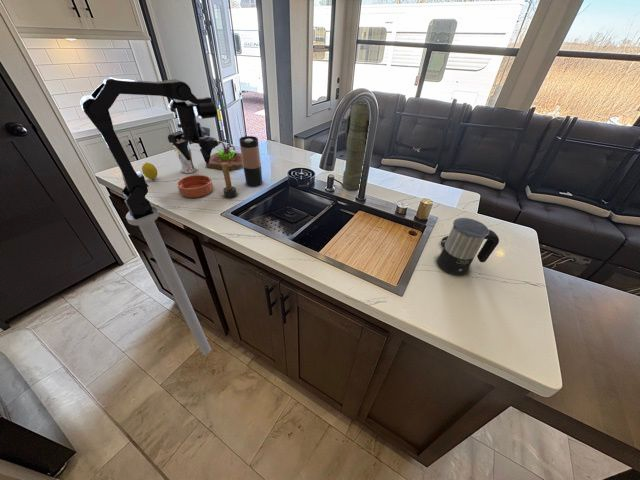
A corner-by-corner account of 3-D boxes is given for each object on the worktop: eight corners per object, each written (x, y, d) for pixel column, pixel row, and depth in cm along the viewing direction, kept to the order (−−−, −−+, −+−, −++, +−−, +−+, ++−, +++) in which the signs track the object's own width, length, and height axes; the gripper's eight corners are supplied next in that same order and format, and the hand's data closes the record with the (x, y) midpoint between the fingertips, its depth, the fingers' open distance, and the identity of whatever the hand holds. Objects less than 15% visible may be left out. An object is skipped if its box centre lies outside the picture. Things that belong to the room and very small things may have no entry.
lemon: (162, 178, 117) (156, 162, 112) (150, 183, 113) (143, 166, 108) (155, 175, 119) (149, 159, 114) (143, 180, 115) (136, 162, 110)
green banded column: (359, 193, 113) (372, 107, 92) (336, 186, 118) (343, 102, 96) (367, 186, 119) (381, 103, 98) (345, 179, 124) (354, 99, 102)
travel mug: (255, 178, 121) (250, 134, 109) (266, 183, 118) (261, 139, 105) (242, 183, 117) (235, 138, 104) (253, 188, 113) (246, 143, 100)
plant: (215, 154, 142) (211, 134, 135) (250, 156, 142) (247, 136, 135) (201, 169, 127) (195, 146, 120) (240, 171, 126) (236, 149, 119)
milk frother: (448, 278, 75) (469, 239, 66) (418, 245, 87) (432, 207, 77) (487, 270, 78) (512, 231, 69) (453, 239, 90) (470, 202, 81)
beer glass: (182, 168, 126) (172, 137, 117) (197, 167, 128) (188, 136, 119) (180, 174, 121) (170, 142, 112) (196, 173, 123) (187, 141, 114)
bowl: (190, 202, 102) (186, 192, 99) (174, 191, 108) (170, 181, 105) (219, 191, 110) (217, 181, 107) (203, 181, 116) (200, 172, 114)
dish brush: (229, 199, 105) (222, 167, 96) (222, 195, 107) (215, 163, 99) (239, 195, 108) (233, 163, 99) (232, 191, 110) (226, 160, 102)
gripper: (223, 119, 97) (230, 159, 106) (183, 113, 101) (193, 152, 111) (203, 126, 88) (213, 168, 98) (160, 119, 93) (173, 160, 102)
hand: (198, 162), depth 102 cm, fingers open, 9 cm apart
